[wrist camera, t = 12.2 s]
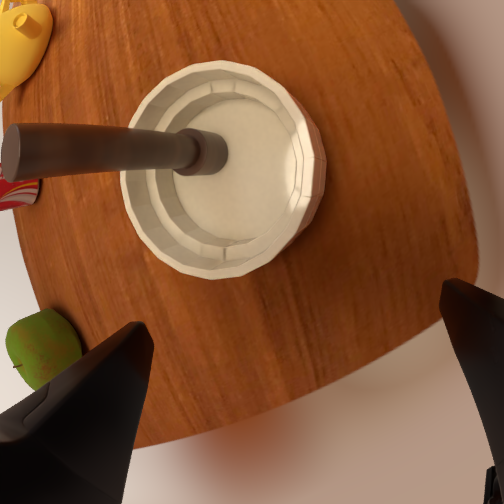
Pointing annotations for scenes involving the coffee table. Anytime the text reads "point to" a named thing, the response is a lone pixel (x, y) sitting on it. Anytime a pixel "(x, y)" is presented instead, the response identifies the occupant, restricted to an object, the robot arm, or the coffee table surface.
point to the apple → (42, 346)
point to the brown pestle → (106, 150)
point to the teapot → (22, 41)
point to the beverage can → (17, 192)
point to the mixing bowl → (227, 172)
